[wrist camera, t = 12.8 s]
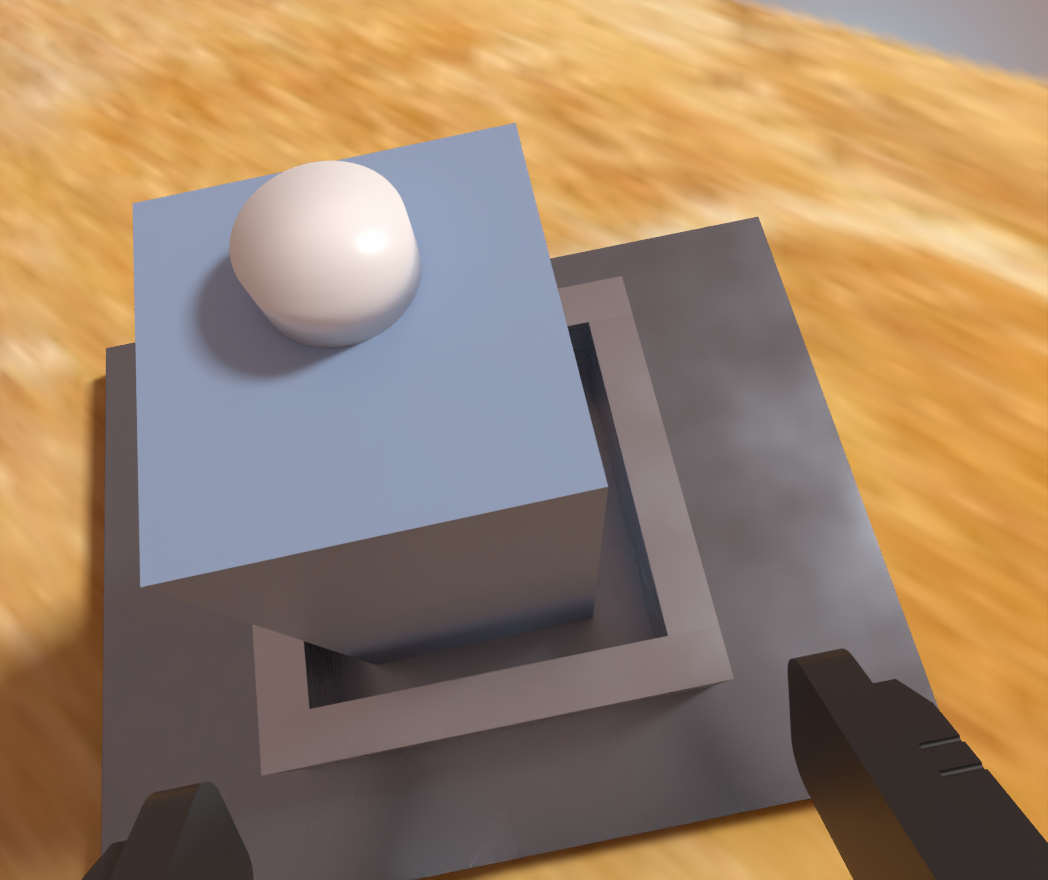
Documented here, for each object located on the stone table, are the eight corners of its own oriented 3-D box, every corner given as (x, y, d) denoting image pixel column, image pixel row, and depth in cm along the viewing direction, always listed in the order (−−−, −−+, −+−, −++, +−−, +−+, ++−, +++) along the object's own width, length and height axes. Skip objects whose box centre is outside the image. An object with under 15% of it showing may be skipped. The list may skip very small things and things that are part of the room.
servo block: (375, 664, 17) (95, 573, 7) (342, 396, 20) (96, 48, 10) (593, 618, 17) (611, 462, 7) (531, 355, 20) (483, -32, 10)
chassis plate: (127, 932, 17) (17, 981, 13) (126, 364, 22) (46, 299, 18) (939, 765, 17) (1025, 773, 14) (750, 238, 22) (780, 151, 19)
